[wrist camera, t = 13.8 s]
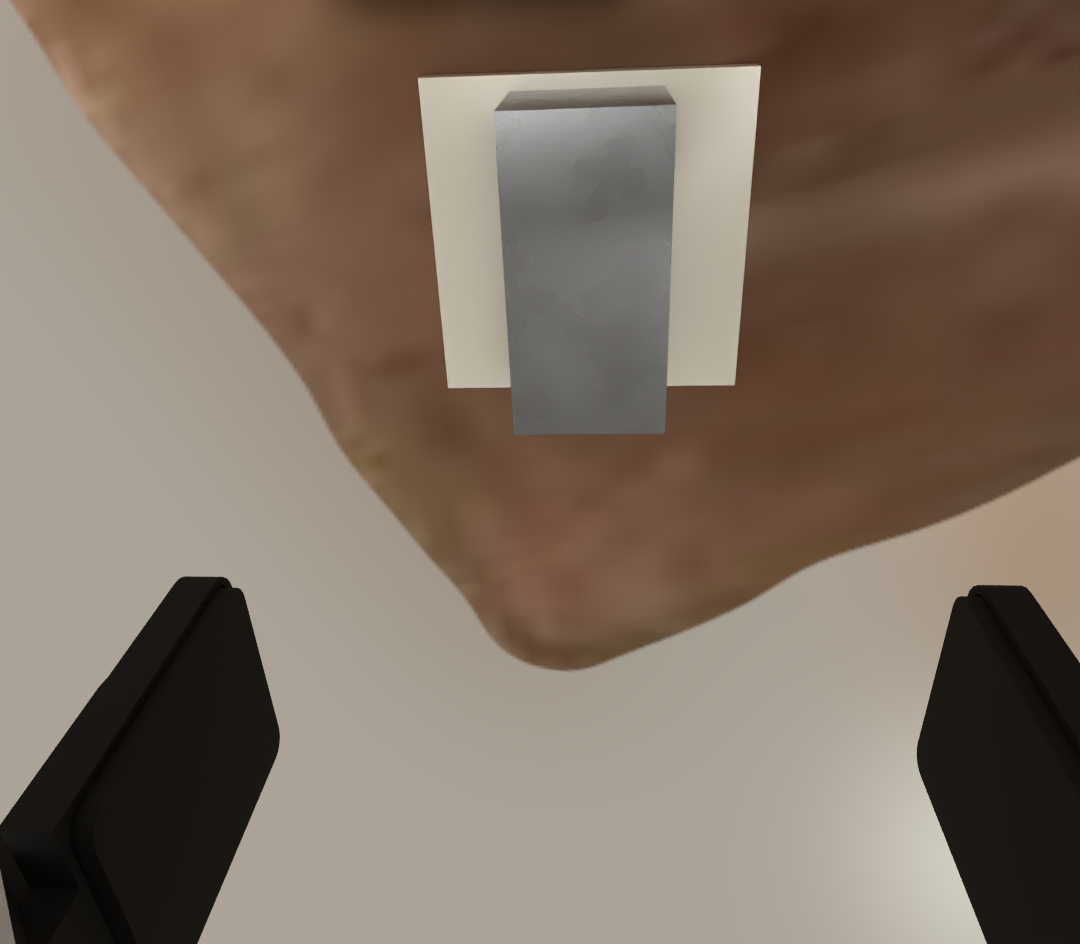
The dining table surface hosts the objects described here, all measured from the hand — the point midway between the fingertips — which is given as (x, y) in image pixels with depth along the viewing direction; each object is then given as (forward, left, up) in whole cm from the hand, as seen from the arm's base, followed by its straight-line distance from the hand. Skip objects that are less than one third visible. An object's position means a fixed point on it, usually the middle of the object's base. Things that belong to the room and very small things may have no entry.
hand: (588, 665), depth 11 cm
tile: (0, 0, -23) cm, 23 cm away
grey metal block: (0, 0, -22) cm, 22 cm away
